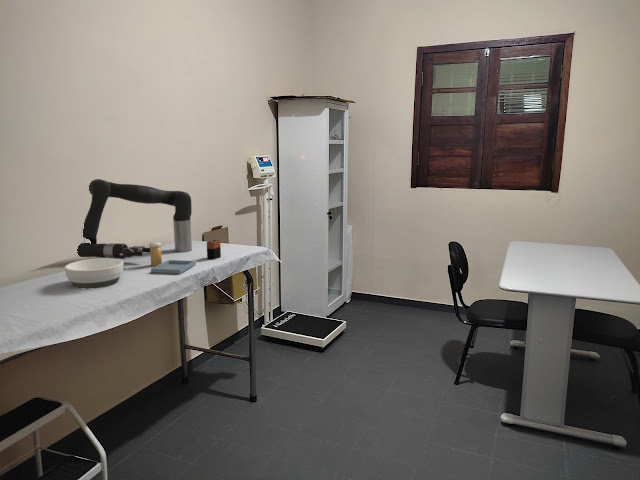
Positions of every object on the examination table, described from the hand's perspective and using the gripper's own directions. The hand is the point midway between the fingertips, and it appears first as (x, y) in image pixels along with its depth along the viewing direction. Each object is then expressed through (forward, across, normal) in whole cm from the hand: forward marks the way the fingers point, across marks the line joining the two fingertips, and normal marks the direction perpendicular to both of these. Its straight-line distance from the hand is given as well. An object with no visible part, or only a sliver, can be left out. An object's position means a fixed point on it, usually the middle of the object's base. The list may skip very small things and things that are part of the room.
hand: (146, 252), depth 234 cm
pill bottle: (+5, 0, +6) cm, 8 cm away
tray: (+17, -6, +6) cm, 19 cm away
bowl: (-5, -34, +7) cm, 35 cm away
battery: (+27, +20, +7) cm, 34 cm away
